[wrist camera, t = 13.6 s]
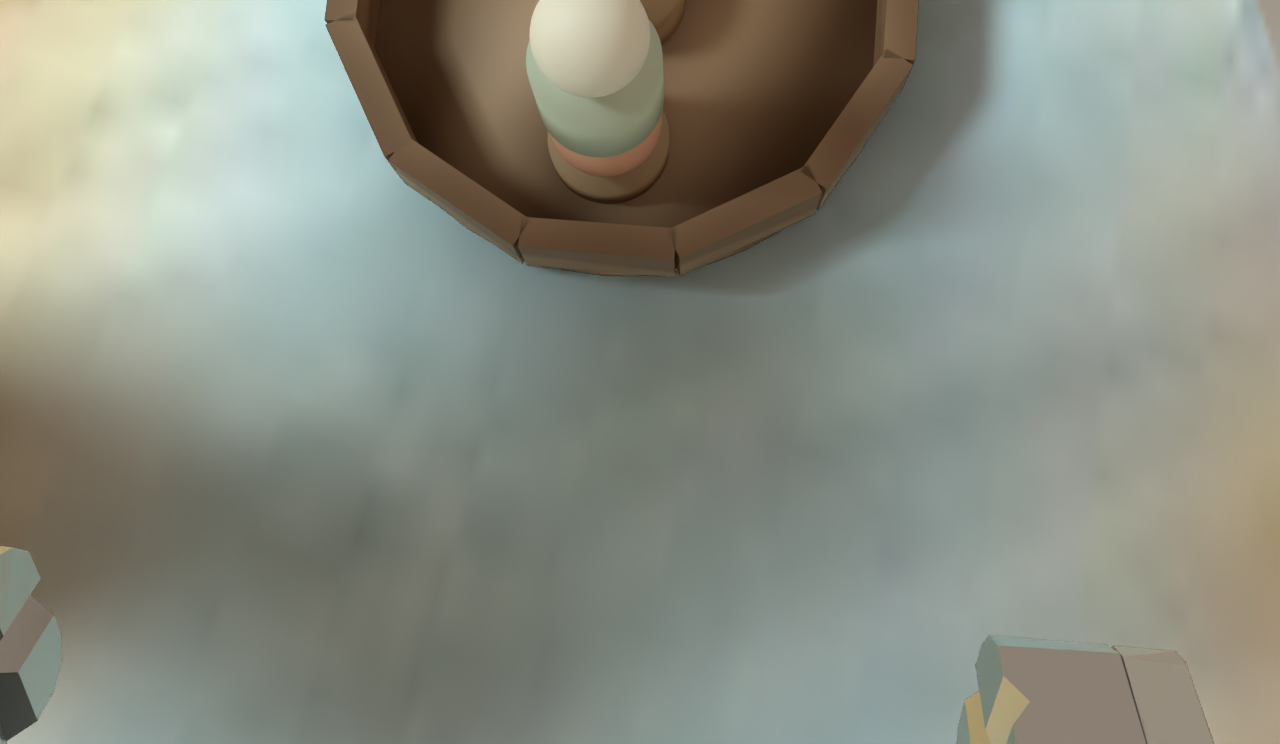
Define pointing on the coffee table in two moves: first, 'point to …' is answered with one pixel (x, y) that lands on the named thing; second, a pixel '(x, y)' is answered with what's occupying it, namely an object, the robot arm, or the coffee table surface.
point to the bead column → (600, 95)
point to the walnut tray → (693, 105)
